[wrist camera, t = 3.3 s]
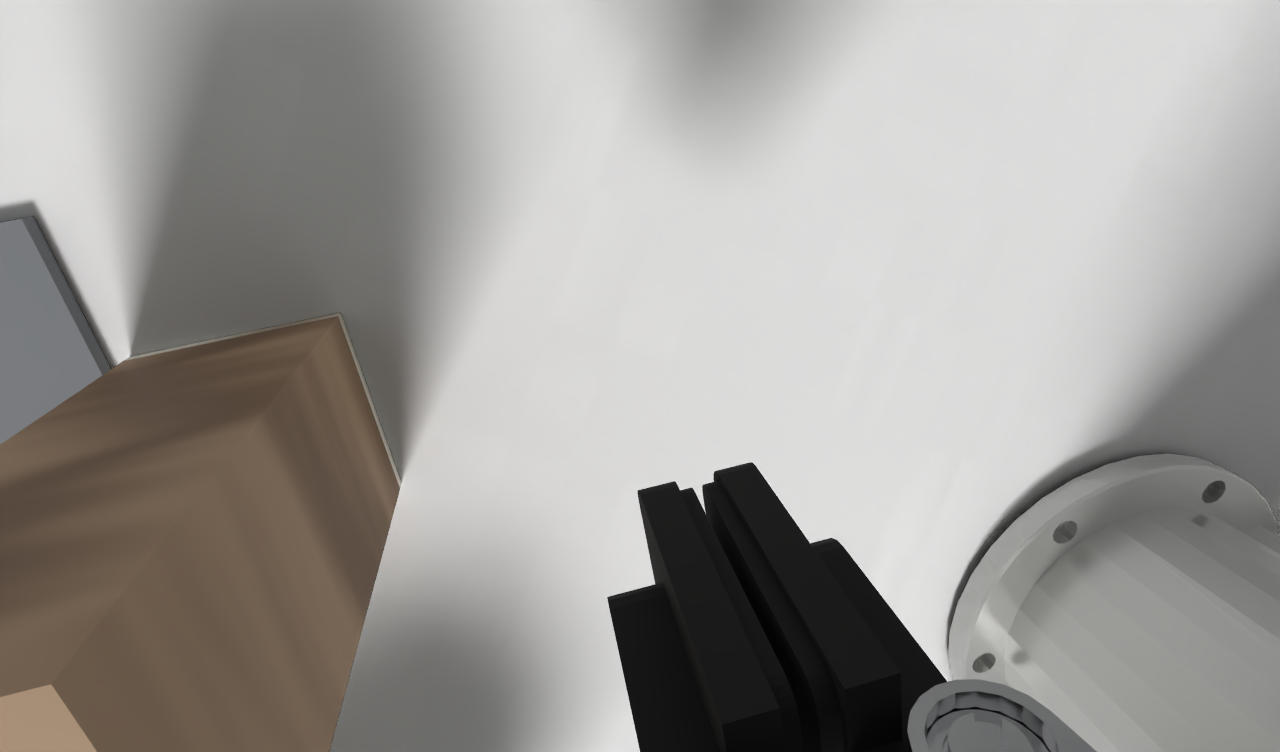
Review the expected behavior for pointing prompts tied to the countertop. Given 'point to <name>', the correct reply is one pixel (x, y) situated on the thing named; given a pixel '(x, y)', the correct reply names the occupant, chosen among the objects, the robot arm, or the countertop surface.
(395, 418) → the countertop surface
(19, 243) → the mat
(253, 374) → the block
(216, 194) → the countertop surface
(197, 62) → the countertop surface
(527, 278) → the countertop surface
